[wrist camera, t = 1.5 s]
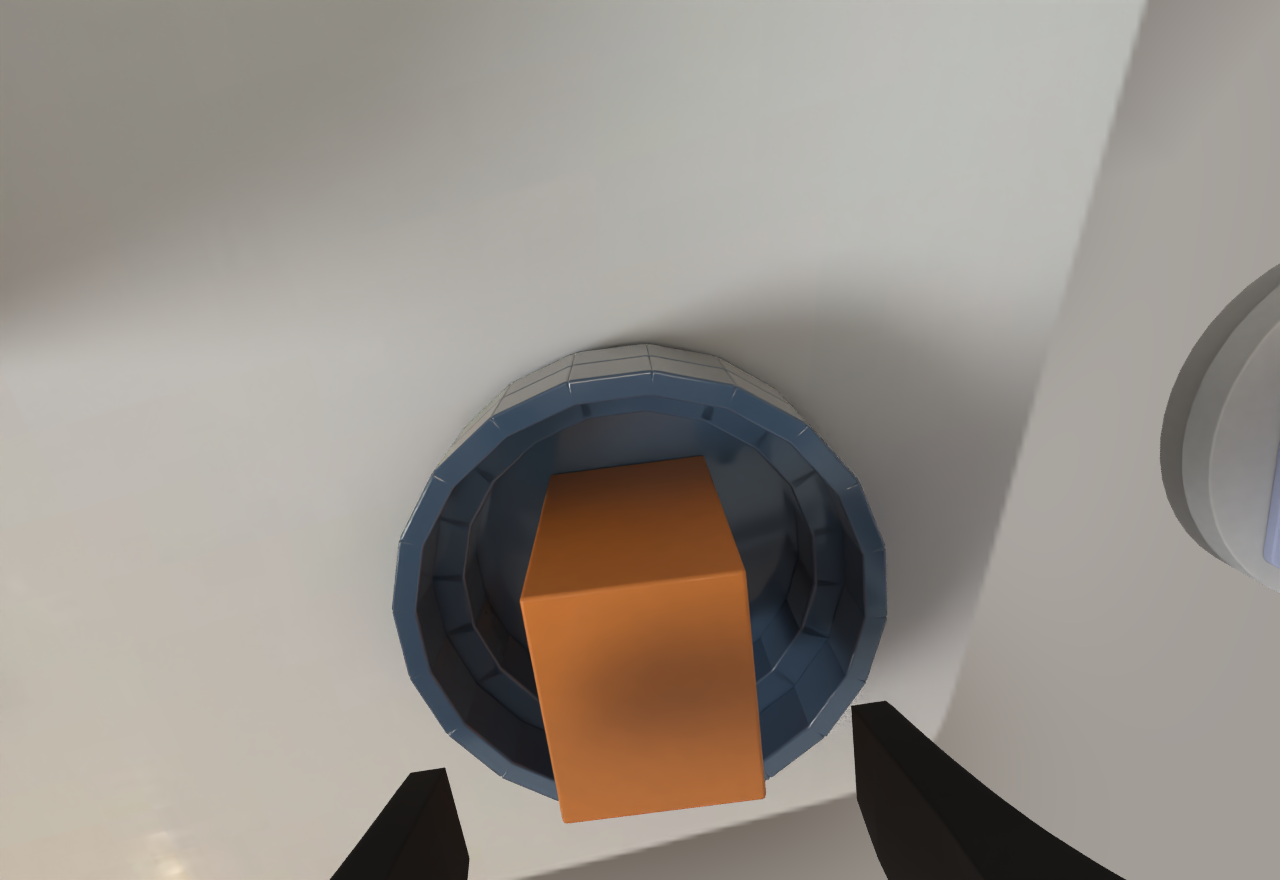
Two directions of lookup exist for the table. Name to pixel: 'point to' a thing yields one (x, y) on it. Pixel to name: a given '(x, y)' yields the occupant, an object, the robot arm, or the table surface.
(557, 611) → the orange rectangular block
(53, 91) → the table surface
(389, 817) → the robot arm
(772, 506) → the bowl
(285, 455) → the table surface
